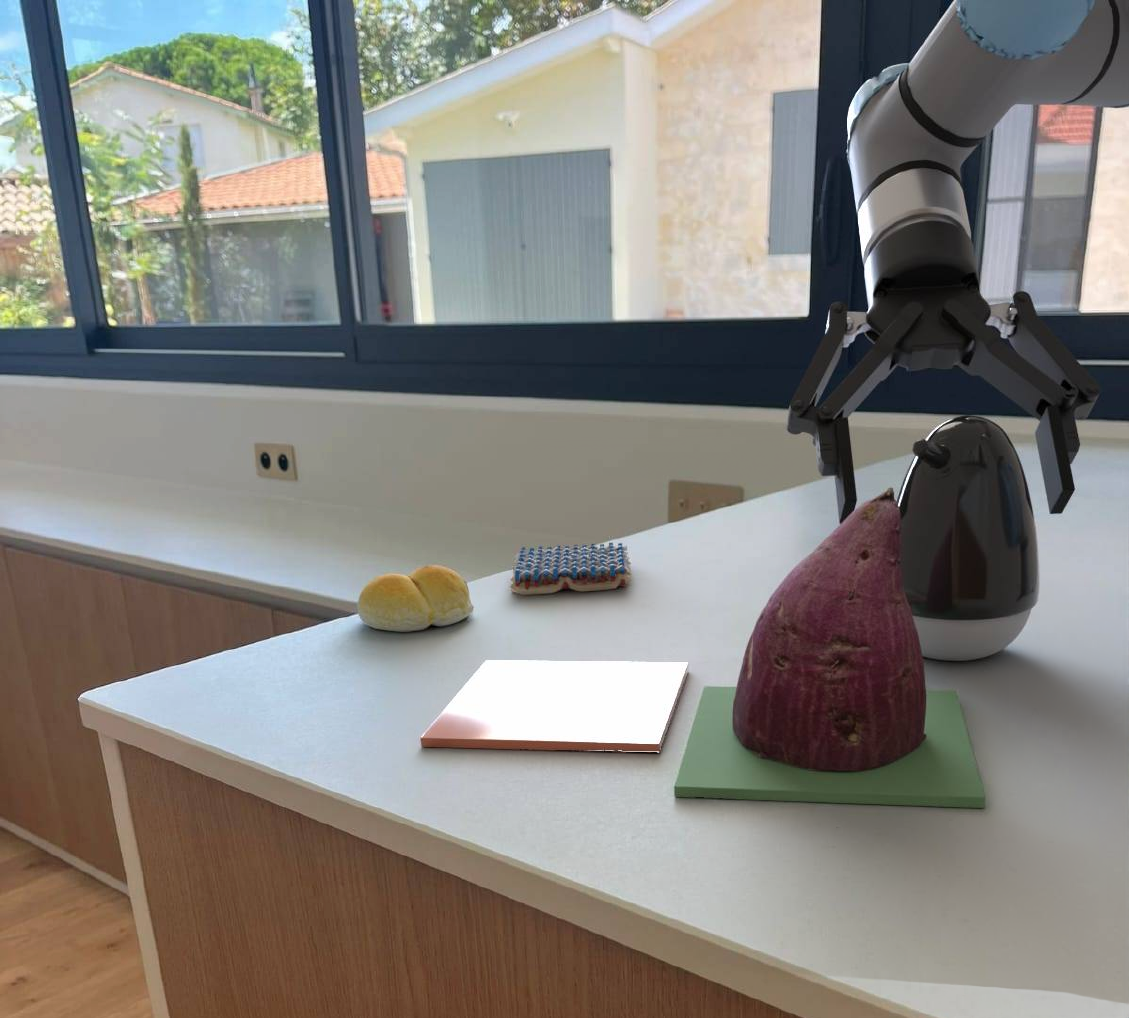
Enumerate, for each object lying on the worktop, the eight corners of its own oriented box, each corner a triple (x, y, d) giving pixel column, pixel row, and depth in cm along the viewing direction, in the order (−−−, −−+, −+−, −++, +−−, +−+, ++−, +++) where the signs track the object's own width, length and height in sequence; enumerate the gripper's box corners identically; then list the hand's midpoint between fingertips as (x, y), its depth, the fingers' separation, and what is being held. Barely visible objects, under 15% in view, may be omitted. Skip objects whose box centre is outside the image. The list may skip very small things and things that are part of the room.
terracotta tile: (688, 671, 76) (688, 662, 76) (659, 753, 64) (659, 744, 64) (486, 668, 79) (485, 660, 79) (420, 747, 67) (419, 737, 67)
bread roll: (352, 614, 94) (346, 567, 93) (458, 599, 97) (454, 552, 95) (369, 641, 87) (362, 589, 85) (483, 623, 89) (479, 573, 88)
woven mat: (629, 561, 105) (628, 539, 105) (633, 591, 96) (632, 567, 95) (516, 567, 106) (514, 545, 105) (508, 598, 96) (506, 574, 95)
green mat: (955, 699, 69) (956, 689, 68) (984, 808, 55) (985, 797, 55) (704, 694, 72) (704, 685, 72) (674, 797, 59) (673, 786, 58)
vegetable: (920, 763, 67) (1015, 510, 61) (889, 817, 58) (997, 526, 52) (751, 703, 70) (827, 457, 65) (697, 744, 61) (780, 463, 56)
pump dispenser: (839, 653, 78) (848, 421, 72) (929, 618, 84) (943, 402, 78) (975, 686, 70) (996, 431, 65) (1062, 645, 76) (1089, 409, 71)
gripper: (1078, 284, 85) (1131, 530, 77) (739, 305, 87) (756, 546, 79) (1115, 202, 78) (1177, 462, 70) (745, 227, 80) (765, 482, 72)
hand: (954, 507), depth 75 cm, fingers open, 13 cm apart
